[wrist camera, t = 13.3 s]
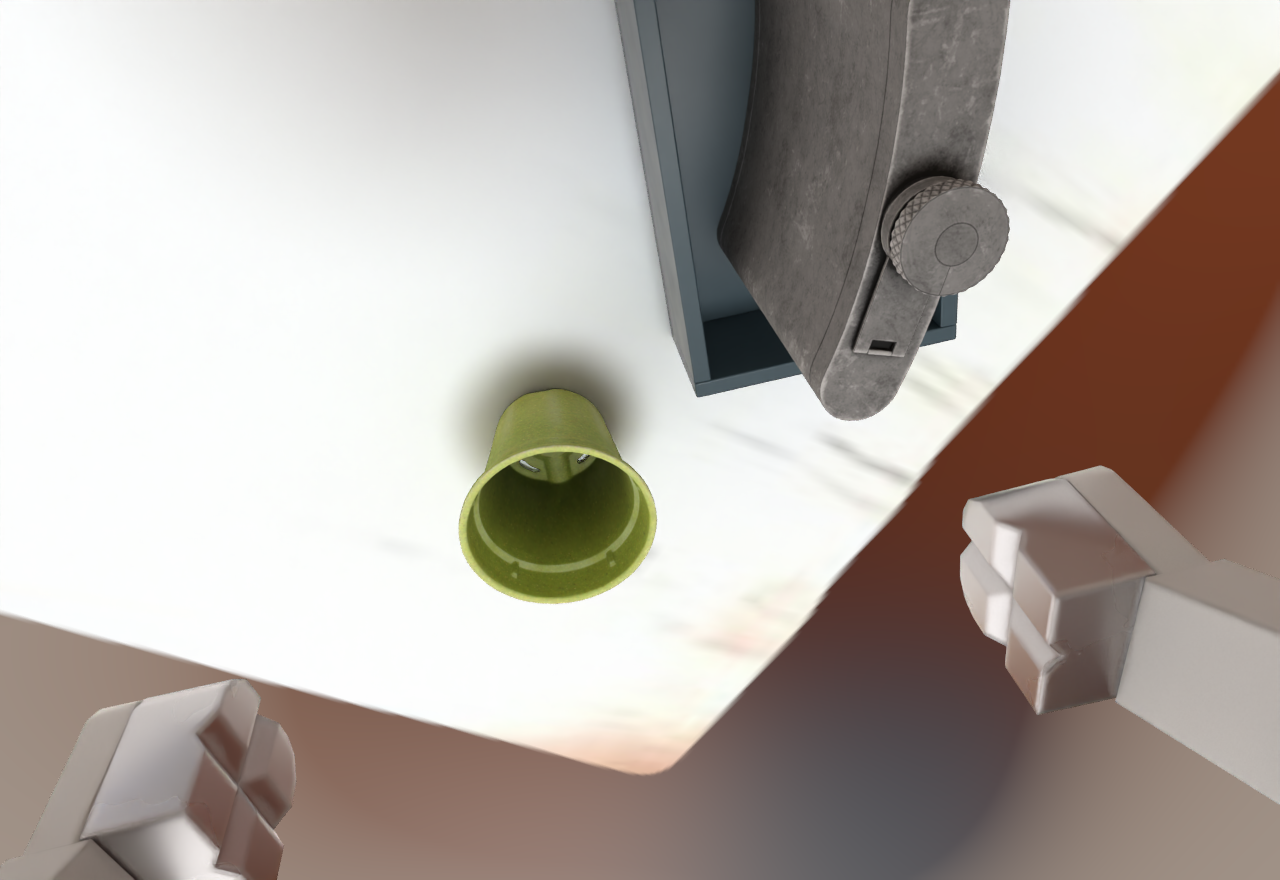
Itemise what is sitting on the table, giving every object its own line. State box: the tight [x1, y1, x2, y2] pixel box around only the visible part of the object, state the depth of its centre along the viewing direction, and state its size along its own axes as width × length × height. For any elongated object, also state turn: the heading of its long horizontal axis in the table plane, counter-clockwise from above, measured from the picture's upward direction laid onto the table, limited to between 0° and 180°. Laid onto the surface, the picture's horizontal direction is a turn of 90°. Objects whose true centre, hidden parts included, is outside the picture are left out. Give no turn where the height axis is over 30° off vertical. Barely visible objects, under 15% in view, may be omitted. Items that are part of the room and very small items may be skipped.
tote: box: [615, 0, 958, 397], centre depth 36 cm, size 22×13×7 cm, turn 10°
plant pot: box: [459, 389, 657, 604], centre depth 43 cm, size 9×9×9 cm
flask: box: [717, 0, 1010, 421], centre depth 31 cm, size 4×14×18 cm, turn 175°
